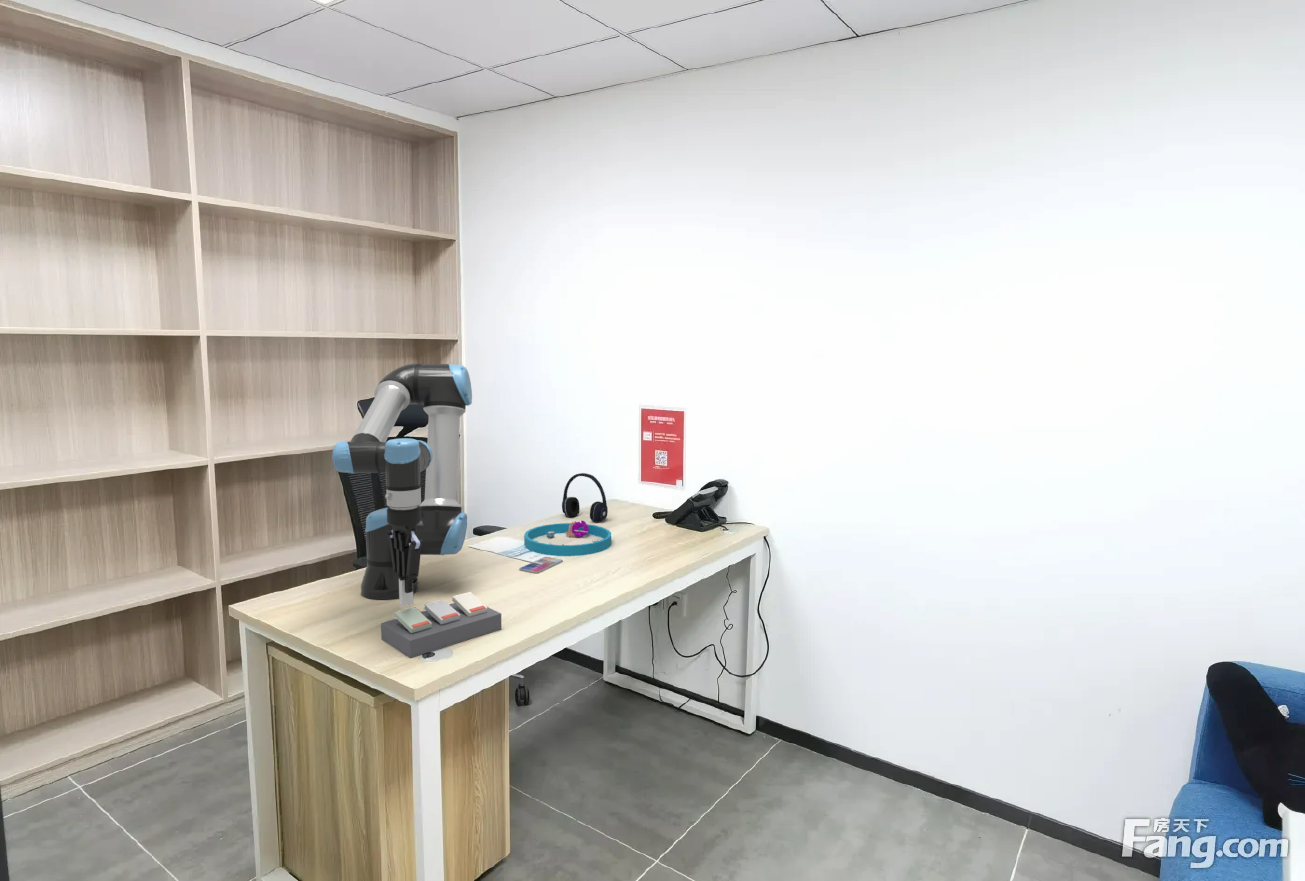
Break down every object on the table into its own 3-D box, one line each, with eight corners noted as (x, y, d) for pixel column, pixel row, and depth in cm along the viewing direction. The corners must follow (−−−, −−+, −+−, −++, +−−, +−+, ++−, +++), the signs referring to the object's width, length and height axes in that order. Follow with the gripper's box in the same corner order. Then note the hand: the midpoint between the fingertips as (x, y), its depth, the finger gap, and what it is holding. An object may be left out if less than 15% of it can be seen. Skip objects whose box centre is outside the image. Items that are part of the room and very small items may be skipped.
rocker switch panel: (371, 633, 177) (371, 614, 177) (460, 608, 194) (459, 591, 194) (410, 657, 164) (409, 637, 164) (501, 629, 181) (501, 610, 181)
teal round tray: (619, 536, 269) (619, 520, 268) (599, 560, 240) (599, 542, 239) (540, 531, 274) (540, 515, 273) (511, 553, 245) (511, 536, 244)
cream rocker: (451, 600, 183) (452, 595, 183) (469, 595, 187) (470, 591, 186) (469, 617, 178) (469, 612, 178) (486, 612, 182) (487, 607, 181)
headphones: (559, 517, 294) (559, 472, 291) (570, 513, 300) (570, 469, 297) (599, 524, 283) (599, 478, 281) (609, 521, 289) (610, 475, 286)
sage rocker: (394, 616, 172) (395, 611, 172) (414, 611, 176) (415, 606, 176) (411, 633, 167) (411, 627, 167) (431, 627, 171) (431, 622, 170)
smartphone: (564, 559, 237) (537, 572, 223) (564, 562, 237) (537, 575, 223) (545, 555, 240) (517, 568, 227) (545, 558, 240) (517, 571, 227)
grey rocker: (424, 608, 178) (424, 603, 177) (442, 603, 181) (443, 598, 181) (441, 624, 173) (441, 619, 172) (460, 619, 176) (460, 614, 176)
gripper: (375, 503, 172) (378, 601, 175) (402, 513, 163) (404, 616, 166) (405, 499, 177) (407, 594, 180) (433, 508, 168) (435, 608, 171)
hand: (406, 604), depth 173 cm, fingers closed
